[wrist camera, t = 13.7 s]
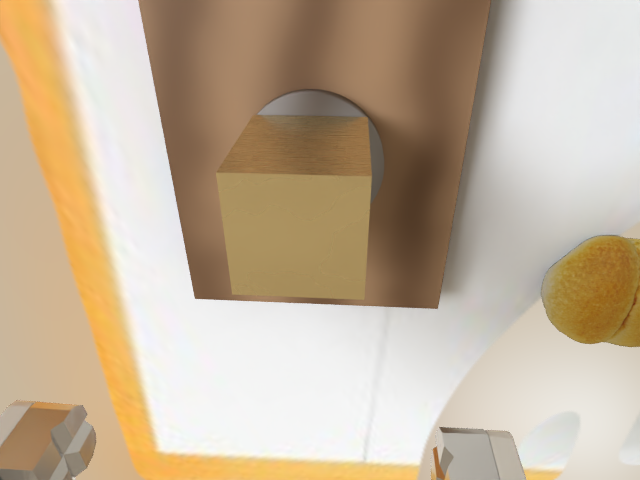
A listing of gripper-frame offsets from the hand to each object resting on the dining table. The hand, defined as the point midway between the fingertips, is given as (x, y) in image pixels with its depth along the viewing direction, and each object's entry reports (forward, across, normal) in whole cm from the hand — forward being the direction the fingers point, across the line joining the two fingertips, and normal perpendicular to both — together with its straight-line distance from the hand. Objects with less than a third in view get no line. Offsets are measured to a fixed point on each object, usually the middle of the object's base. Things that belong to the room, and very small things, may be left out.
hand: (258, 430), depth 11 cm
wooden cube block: (+16, 0, 0) cm, 16 cm away
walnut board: (+19, 0, 0) cm, 19 cm away
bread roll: (+20, -20, +10) cm, 29 cm away
